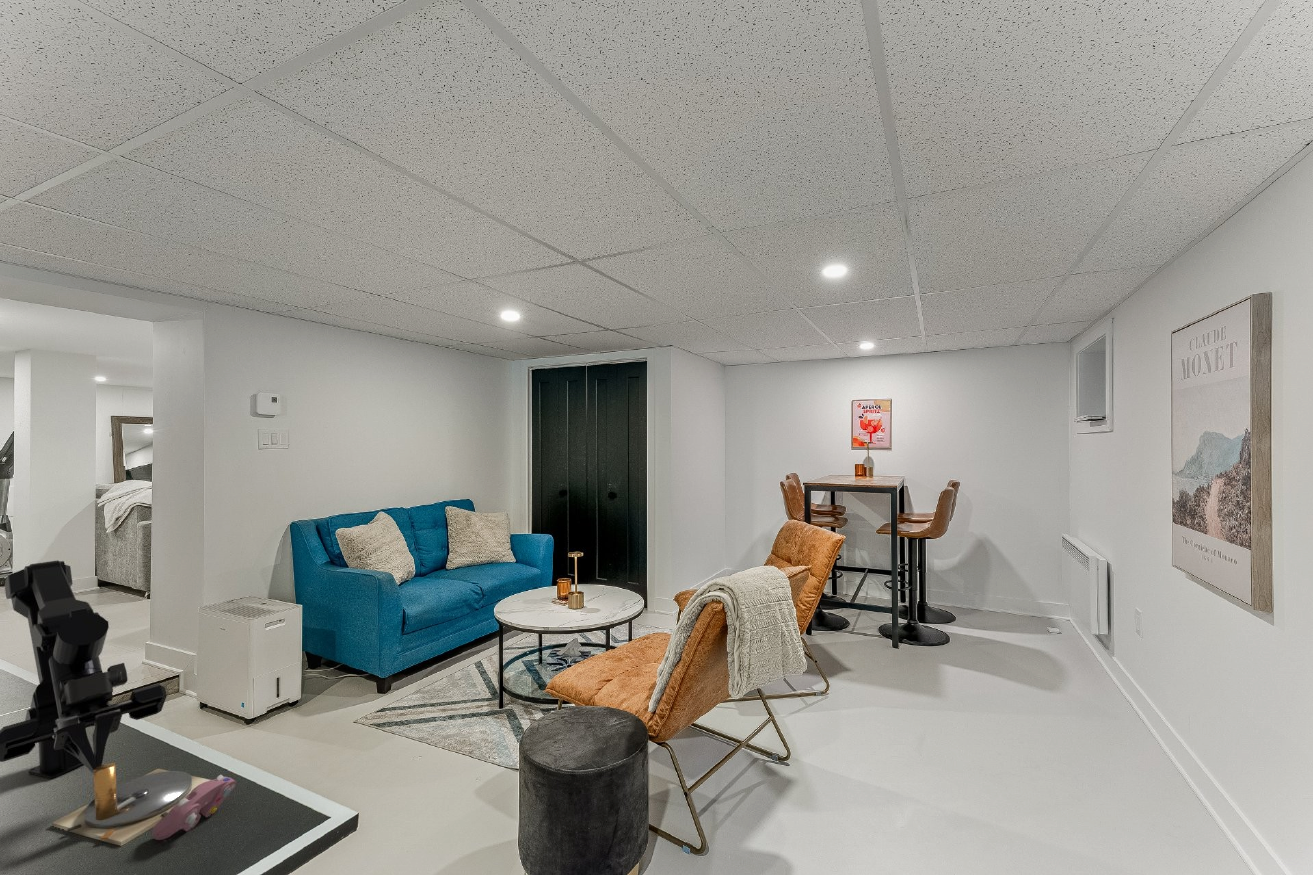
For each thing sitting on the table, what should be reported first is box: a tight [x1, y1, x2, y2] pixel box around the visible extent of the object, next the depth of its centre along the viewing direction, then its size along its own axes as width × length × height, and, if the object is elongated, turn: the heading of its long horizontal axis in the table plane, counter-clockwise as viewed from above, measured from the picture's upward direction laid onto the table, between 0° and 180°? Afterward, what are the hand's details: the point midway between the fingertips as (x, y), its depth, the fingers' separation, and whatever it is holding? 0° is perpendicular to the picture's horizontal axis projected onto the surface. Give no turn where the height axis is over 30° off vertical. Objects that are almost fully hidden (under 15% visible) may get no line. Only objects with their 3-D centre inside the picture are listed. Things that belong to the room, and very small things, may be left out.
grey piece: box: [84, 762, 192, 828], centre depth 95 cm, size 13×13×8 cm
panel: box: [51, 768, 211, 847], centre depth 94 cm, size 16×15×1 cm
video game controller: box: [151, 774, 237, 841], centre depth 91 cm, size 10×5×7 cm, turn 169°
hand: (97, 771), depth 90 cm, fingers closed
